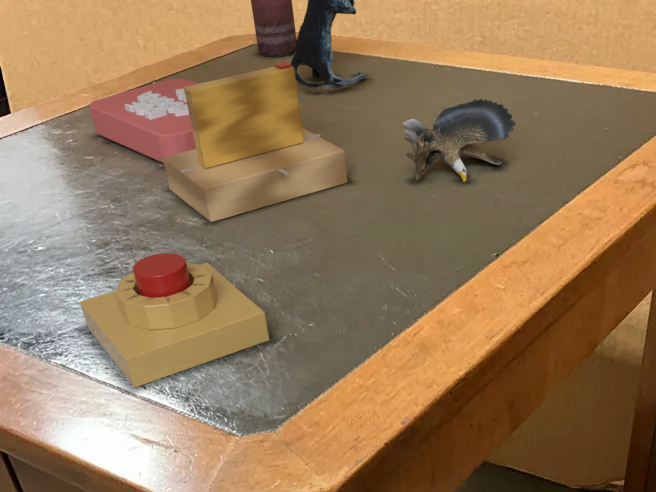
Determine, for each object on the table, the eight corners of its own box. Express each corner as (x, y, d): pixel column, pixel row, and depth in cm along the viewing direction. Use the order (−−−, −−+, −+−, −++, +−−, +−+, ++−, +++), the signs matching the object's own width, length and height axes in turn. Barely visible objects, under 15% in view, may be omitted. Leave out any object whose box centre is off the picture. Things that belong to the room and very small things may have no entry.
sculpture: (386, 86, 106) (376, -65, 96) (296, 98, 105) (277, -54, 95) (373, 68, 112) (362, -76, 102) (288, 78, 111) (269, -66, 101)
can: (259, 48, 122) (244, -56, 114) (299, 45, 122) (286, -59, 114) (255, 58, 118) (238, -49, 110) (295, 56, 118) (282, -52, 110)
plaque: (289, 93, 93) (165, 132, 86) (295, 131, 96) (175, 172, 89) (197, 64, 103) (80, 97, 96) (204, 100, 106) (90, 134, 99)
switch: (134, 388, 59) (118, 334, 57) (88, 329, 66) (71, 278, 63) (269, 340, 63) (260, 287, 60) (213, 288, 69) (202, 239, 67)
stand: (219, 230, 78) (212, 194, 76) (160, 183, 87) (152, 150, 85) (360, 189, 83) (357, 153, 81) (290, 148, 92) (286, 116, 90)
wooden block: (206, 168, 80) (189, 88, 76) (199, 164, 81) (182, 84, 77) (304, 142, 84) (294, 64, 80) (296, 138, 85) (286, 60, 81)
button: (149, 305, 60) (143, 281, 59) (131, 286, 63) (124, 262, 61) (199, 289, 62) (193, 265, 60) (179, 271, 64) (174, 248, 63)
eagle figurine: (445, 188, 79) (529, 146, 80) (408, 108, 77) (495, 68, 79) (419, 208, 86) (496, 169, 88) (385, 136, 84) (465, 98, 86)
